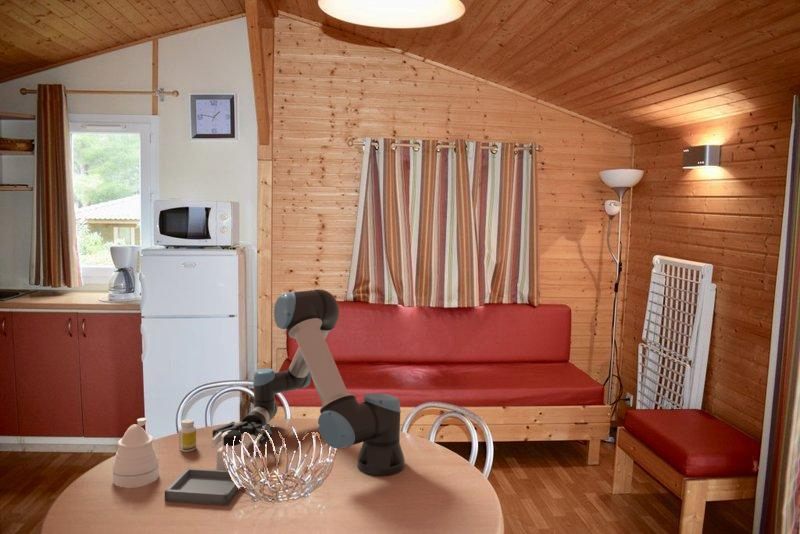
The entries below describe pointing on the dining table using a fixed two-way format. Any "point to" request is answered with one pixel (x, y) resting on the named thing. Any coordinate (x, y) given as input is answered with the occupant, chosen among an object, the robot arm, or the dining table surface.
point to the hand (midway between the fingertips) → (233, 444)
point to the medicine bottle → (228, 438)
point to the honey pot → (135, 458)
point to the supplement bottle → (187, 436)
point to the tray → (202, 487)
